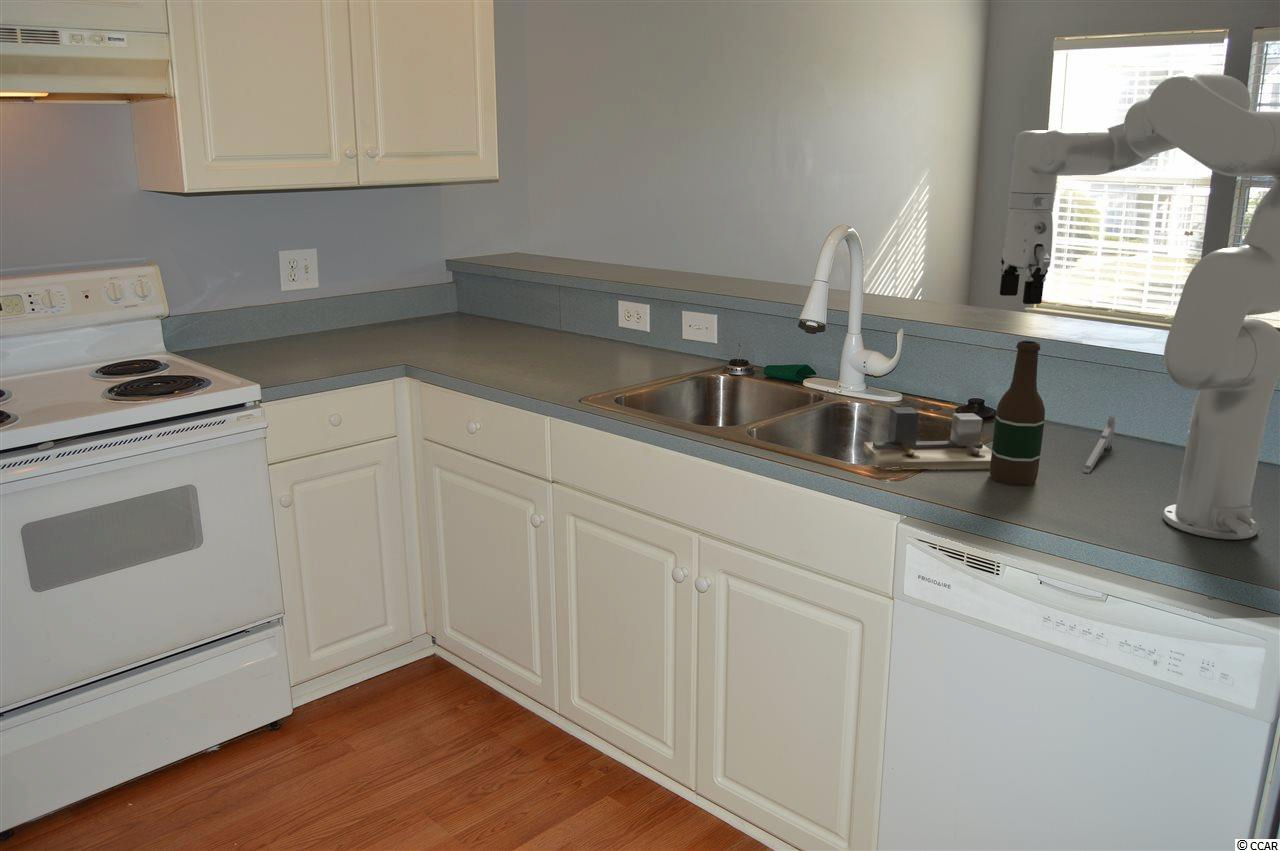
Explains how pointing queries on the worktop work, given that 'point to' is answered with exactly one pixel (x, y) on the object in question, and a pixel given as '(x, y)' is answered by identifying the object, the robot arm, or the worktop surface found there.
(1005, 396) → the beer bottle
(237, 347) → the worktop surface
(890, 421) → the block
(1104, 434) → the caliper
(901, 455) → the board
